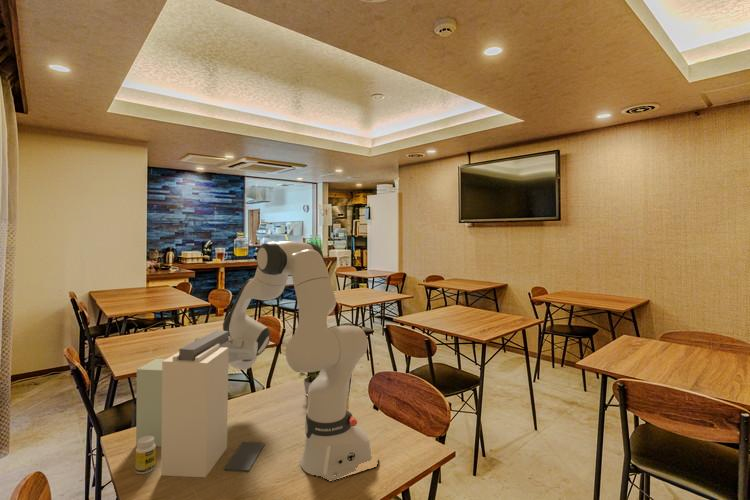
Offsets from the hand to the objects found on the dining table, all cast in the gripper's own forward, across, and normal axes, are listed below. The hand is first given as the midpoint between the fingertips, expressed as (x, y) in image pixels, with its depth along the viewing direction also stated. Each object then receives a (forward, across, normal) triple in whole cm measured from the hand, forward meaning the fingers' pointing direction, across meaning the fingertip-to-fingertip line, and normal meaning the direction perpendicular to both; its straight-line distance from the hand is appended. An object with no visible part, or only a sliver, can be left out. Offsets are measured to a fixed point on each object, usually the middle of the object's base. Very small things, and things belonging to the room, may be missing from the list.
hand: (217, 340), depth 121 cm
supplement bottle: (-1, -12, +36) cm, 38 cm away
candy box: (-33, +36, +18) cm, 52 cm away
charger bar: (+7, 0, +4) cm, 8 cm away
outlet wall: (-5, 0, +34) cm, 34 cm away
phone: (-8, +13, +32) cm, 36 cm away
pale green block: (-14, -18, +28) cm, 36 cm away
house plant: (-45, +24, +10) cm, 52 cm away
